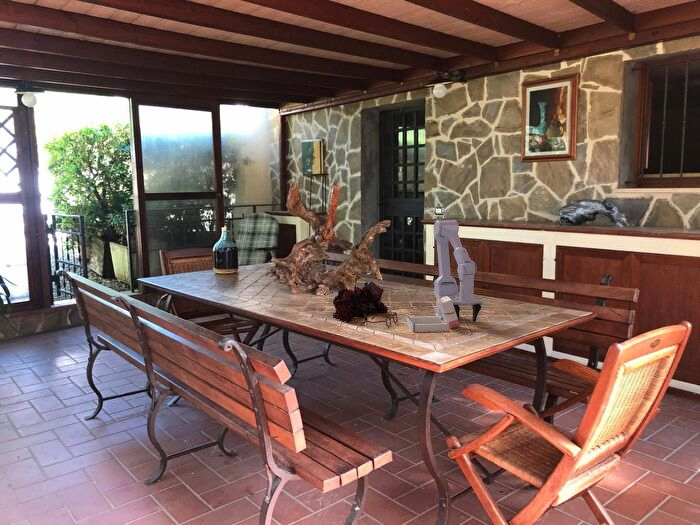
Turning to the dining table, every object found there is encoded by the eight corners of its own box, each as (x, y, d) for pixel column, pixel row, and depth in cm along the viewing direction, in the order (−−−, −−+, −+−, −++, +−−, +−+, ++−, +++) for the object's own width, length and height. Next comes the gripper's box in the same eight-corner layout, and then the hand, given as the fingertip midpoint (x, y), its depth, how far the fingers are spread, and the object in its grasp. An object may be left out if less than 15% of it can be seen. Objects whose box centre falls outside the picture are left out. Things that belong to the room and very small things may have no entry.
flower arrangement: (355, 324, 237) (355, 290, 235) (321, 317, 249) (320, 285, 247) (394, 311, 261) (395, 280, 259) (361, 306, 273) (361, 276, 271)
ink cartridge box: (460, 325, 227) (450, 292, 225) (449, 329, 227) (438, 296, 224) (455, 320, 235) (444, 289, 233) (444, 324, 235) (434, 293, 233)
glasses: (387, 329, 229) (387, 317, 229) (359, 326, 235) (359, 314, 234) (398, 322, 241) (398, 311, 240) (371, 319, 247) (371, 308, 246)
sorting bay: (406, 323, 236) (406, 316, 236) (440, 322, 238) (440, 315, 237) (412, 332, 223) (413, 323, 222) (448, 331, 224) (449, 323, 223)
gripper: (452, 292, 225) (451, 324, 227) (486, 291, 226) (485, 323, 228) (447, 289, 232) (447, 320, 234) (481, 288, 233) (480, 319, 235)
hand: (465, 321), depth 231 cm, fingers open, 6 cm apart
